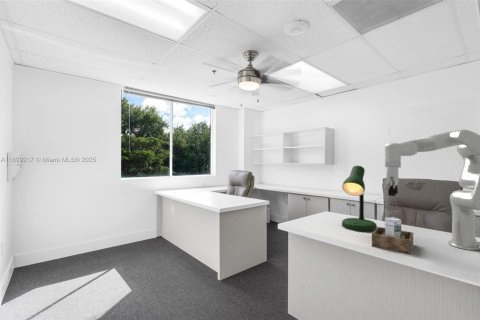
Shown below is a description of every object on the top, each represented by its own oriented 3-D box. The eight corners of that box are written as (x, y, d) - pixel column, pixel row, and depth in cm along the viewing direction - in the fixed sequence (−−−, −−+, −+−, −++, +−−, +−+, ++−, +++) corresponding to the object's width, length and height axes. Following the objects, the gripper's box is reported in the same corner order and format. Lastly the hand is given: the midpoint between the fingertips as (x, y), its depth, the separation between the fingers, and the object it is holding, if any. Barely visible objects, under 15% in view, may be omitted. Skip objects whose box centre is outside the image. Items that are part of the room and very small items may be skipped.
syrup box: (393, 246, 129) (393, 219, 129) (384, 242, 135) (384, 217, 135) (401, 245, 131) (401, 219, 131) (392, 241, 137) (392, 216, 137)
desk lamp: (369, 237, 147) (369, 166, 147) (333, 230, 162) (333, 165, 162) (379, 226, 170) (379, 165, 170) (347, 221, 185) (347, 165, 185)
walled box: (413, 244, 134) (413, 232, 134) (410, 254, 120) (410, 240, 120) (377, 237, 146) (377, 226, 146) (371, 245, 132) (371, 233, 132)
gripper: (387, 164, 142) (387, 192, 142) (382, 165, 129) (382, 195, 129) (402, 164, 137) (402, 193, 137) (399, 165, 124) (399, 197, 124)
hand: (393, 194), depth 133 cm, fingers open, 9 cm apart
